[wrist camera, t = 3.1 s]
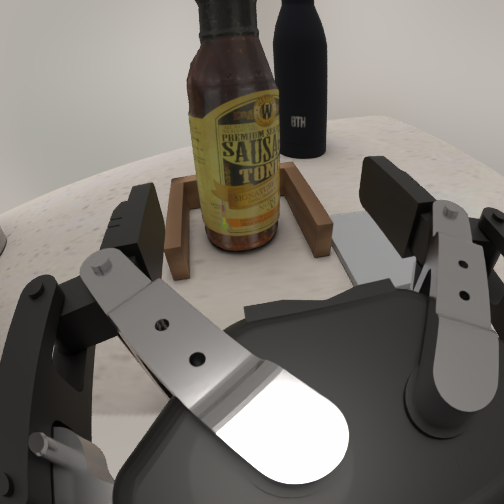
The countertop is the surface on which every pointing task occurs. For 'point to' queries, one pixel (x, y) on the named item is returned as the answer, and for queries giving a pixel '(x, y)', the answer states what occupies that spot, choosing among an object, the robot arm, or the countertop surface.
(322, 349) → the robot arm
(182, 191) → the walnut cradle
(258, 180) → the sauce bottle
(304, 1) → the black water bottle
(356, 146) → the countertop surface
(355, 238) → the felt mat
